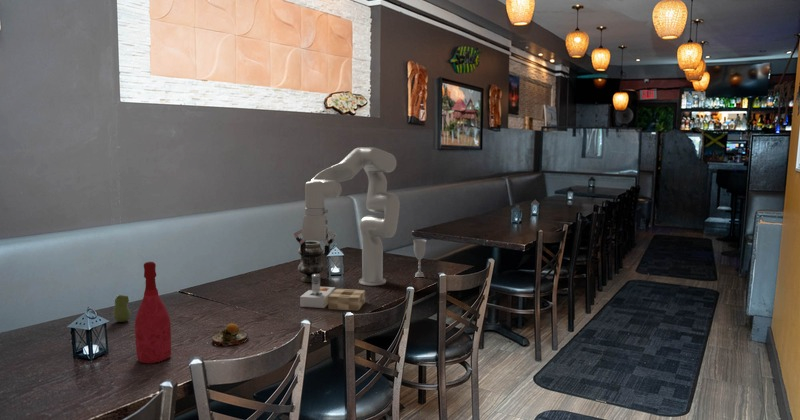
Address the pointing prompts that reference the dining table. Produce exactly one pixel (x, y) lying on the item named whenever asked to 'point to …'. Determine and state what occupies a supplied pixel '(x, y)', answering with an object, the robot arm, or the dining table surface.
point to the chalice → (419, 253)
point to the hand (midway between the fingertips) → (315, 254)
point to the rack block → (346, 299)
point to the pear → (121, 309)
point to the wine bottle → (152, 323)
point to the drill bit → (316, 284)
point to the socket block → (316, 298)
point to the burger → (230, 335)
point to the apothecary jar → (311, 260)
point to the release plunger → (323, 289)
